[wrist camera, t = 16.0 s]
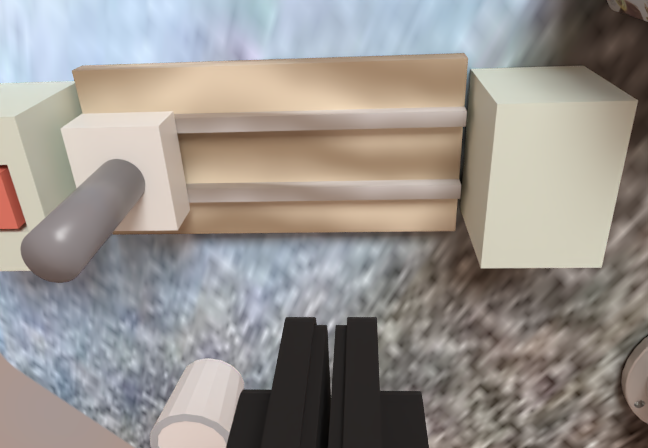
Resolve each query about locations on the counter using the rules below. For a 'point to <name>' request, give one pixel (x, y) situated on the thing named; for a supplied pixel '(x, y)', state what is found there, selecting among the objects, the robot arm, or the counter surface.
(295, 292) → the counter surface
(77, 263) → the carriage
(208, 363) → the pale pink cylinder cup
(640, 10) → the coffee box
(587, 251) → the cabinet
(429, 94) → the rail track
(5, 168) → the red block
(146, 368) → the counter surface
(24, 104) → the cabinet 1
